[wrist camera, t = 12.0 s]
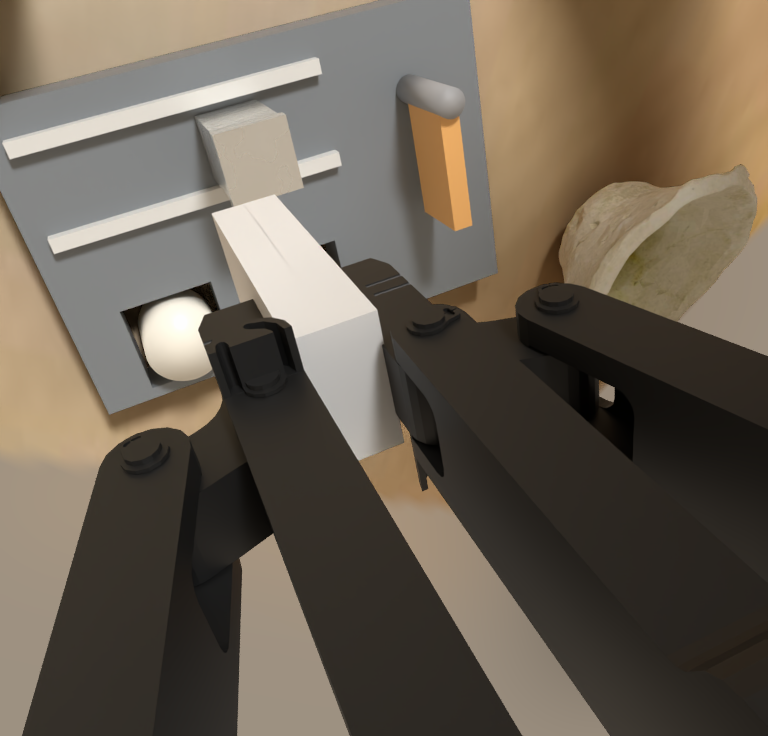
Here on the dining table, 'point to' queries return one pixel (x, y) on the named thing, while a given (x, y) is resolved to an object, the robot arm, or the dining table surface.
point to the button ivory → (175, 335)
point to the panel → (205, 196)
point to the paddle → (438, 148)
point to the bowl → (659, 239)
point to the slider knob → (250, 151)
